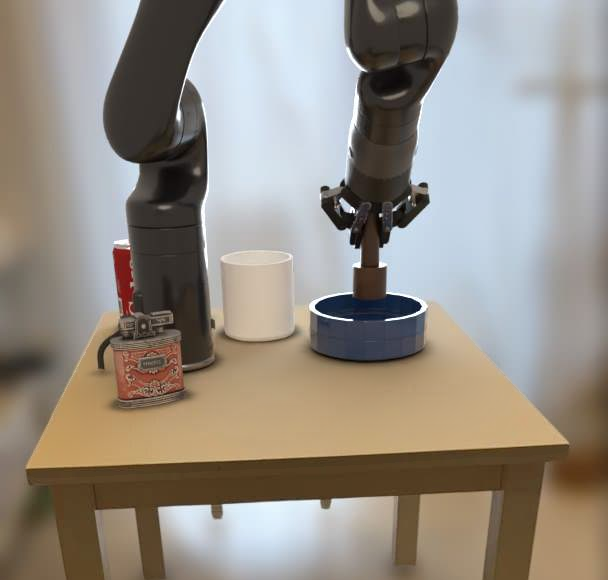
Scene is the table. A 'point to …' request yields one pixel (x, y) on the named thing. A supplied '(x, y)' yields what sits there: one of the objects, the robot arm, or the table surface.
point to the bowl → (367, 326)
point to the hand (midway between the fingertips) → (367, 242)
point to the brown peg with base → (370, 263)
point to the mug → (258, 295)
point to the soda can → (123, 276)
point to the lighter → (148, 361)
